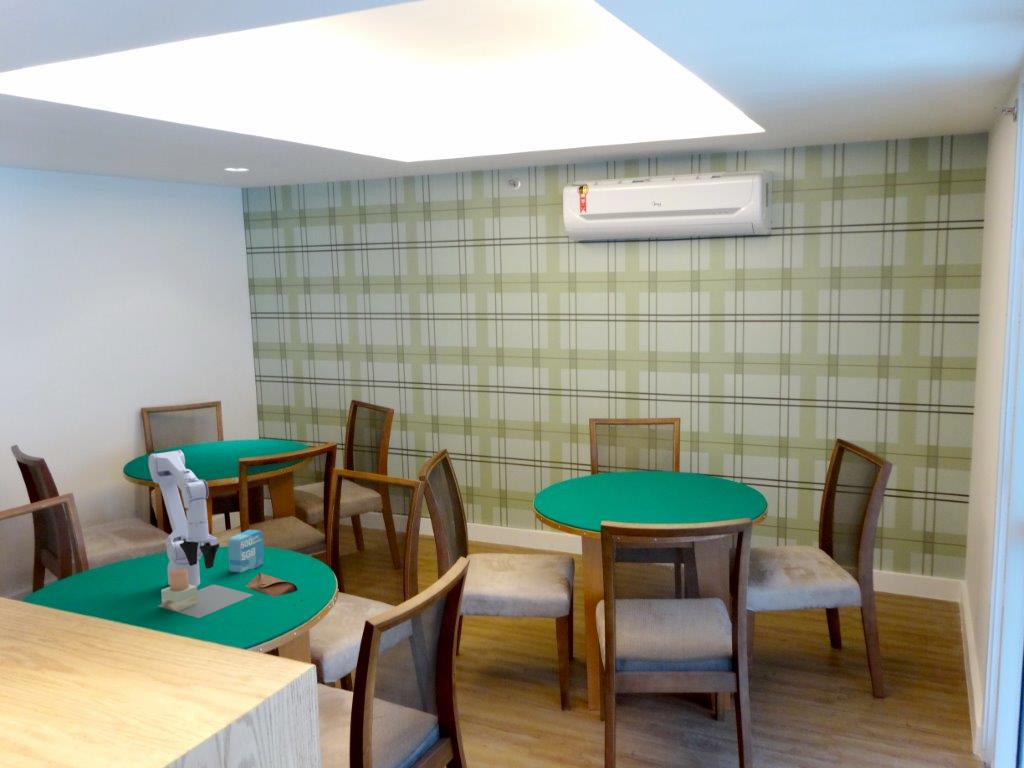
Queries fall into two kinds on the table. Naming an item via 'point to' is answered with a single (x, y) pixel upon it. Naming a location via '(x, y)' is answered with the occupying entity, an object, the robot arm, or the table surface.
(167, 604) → the birch base slab
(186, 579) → the terracotta cylinder
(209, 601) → the slate board
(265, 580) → the sunglasses case
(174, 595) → the sage top slab
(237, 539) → the data package
